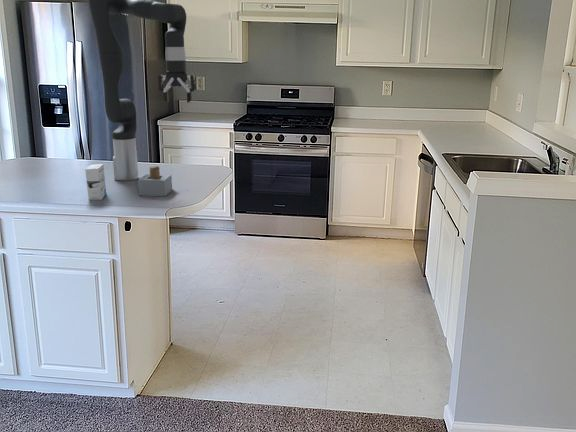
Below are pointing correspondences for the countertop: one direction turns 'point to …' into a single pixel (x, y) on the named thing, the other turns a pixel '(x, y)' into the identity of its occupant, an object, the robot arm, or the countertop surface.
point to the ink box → (95, 182)
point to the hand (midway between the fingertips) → (178, 102)
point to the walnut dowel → (154, 172)
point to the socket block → (155, 185)
